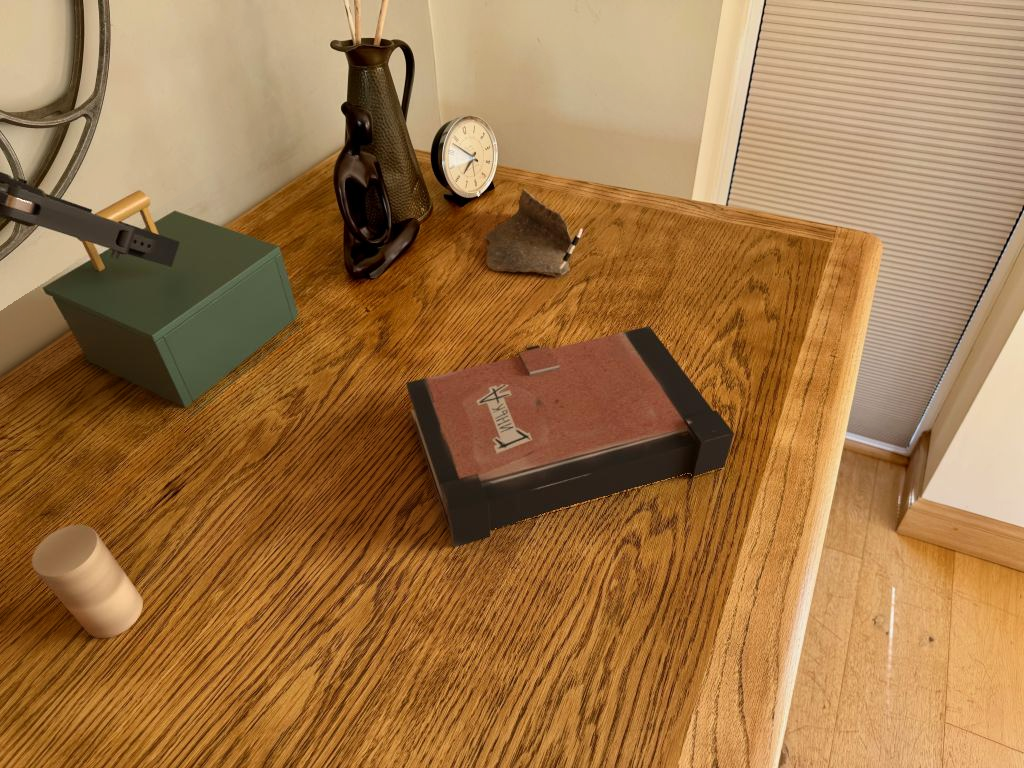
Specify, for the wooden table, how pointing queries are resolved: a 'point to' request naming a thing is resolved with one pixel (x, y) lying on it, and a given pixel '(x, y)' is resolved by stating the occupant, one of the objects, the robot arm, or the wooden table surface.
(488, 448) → the red and black box
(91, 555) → the peg
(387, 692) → the wooden table surface
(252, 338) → the chest
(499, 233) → the pottery fragment
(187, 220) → the lid
